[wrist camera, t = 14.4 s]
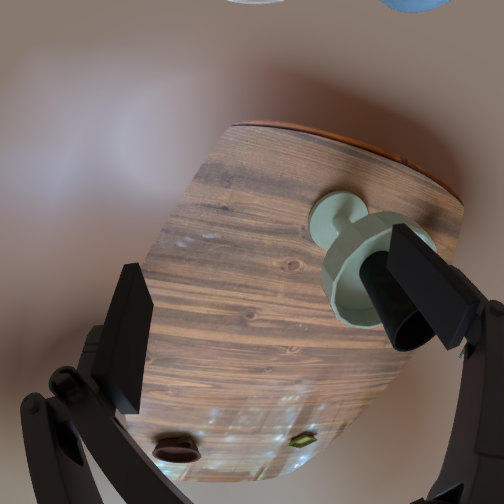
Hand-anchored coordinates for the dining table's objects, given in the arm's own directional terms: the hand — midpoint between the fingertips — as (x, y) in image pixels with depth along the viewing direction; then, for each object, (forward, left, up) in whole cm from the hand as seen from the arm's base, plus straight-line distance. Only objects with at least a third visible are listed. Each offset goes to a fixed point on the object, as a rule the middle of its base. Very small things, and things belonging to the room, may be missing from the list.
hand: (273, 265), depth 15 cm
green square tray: (+105, +17, -33) cm, 111 cm away
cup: (+15, +18, -18) cm, 29 cm away
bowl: (+15, +18, -32) cm, 40 cm away
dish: (+96, -29, -33) cm, 105 cm away
